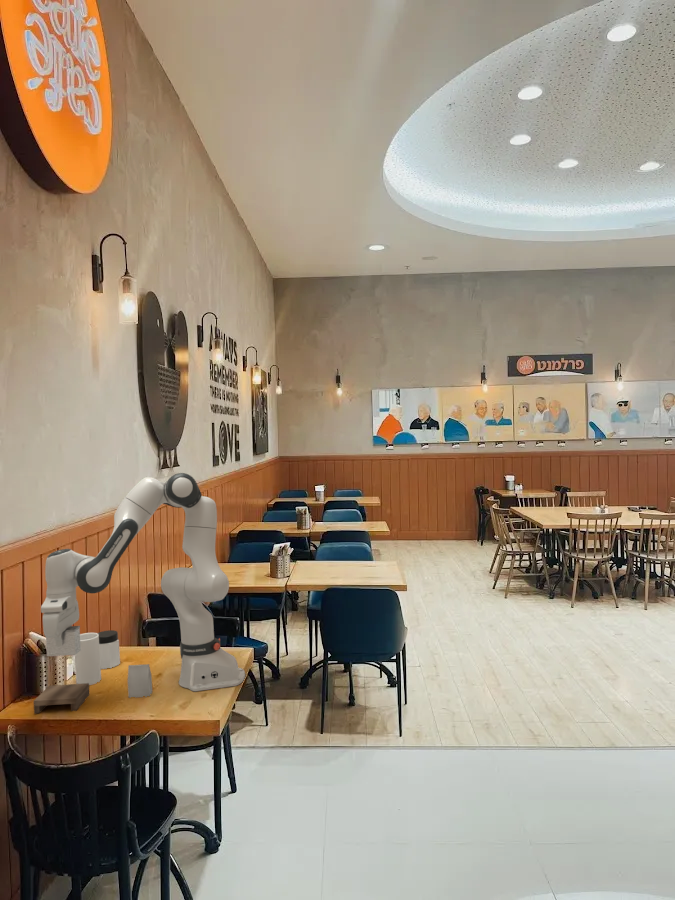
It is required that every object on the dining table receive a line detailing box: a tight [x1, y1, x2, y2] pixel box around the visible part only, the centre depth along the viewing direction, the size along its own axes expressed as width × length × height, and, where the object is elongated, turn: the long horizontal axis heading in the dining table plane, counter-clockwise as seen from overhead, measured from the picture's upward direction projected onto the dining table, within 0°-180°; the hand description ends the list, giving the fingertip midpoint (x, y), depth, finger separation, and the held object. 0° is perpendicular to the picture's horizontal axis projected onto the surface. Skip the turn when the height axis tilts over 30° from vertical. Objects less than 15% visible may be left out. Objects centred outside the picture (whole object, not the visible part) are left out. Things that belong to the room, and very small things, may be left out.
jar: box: [97, 629, 121, 670], centre depth 241 cm, size 9×8×12 cm
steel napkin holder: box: [45, 625, 81, 657], centre depth 207 cm, size 9×5×8 cm, turn 92°
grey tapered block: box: [127, 664, 153, 699], centre depth 211 cm, size 4×7×10 cm, turn 91°
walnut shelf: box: [33, 683, 91, 714], centre depth 207 cm, size 13×12×4 cm
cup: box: [74, 632, 102, 686], centre depth 225 cm, size 8×8×16 cm
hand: (63, 643), depth 207 cm, fingers closed on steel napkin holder, 4 cm apart
